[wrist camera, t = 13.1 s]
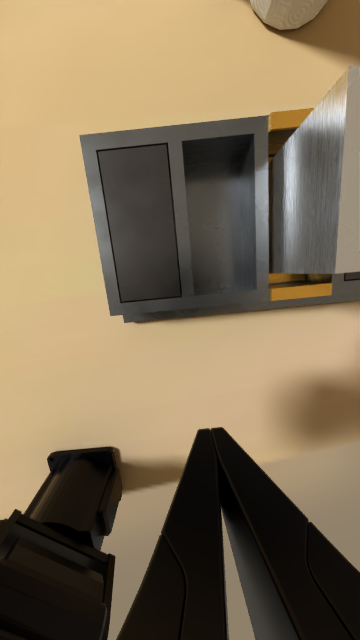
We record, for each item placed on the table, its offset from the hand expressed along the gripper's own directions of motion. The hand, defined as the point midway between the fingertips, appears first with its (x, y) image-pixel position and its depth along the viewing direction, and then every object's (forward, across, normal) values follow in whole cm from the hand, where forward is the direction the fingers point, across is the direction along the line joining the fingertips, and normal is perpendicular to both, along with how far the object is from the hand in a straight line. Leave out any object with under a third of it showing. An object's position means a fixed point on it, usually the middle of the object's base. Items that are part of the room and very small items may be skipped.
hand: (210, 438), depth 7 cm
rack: (+12, -5, -8) cm, 16 cm away
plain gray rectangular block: (+11, -8, -8) cm, 16 cm away
